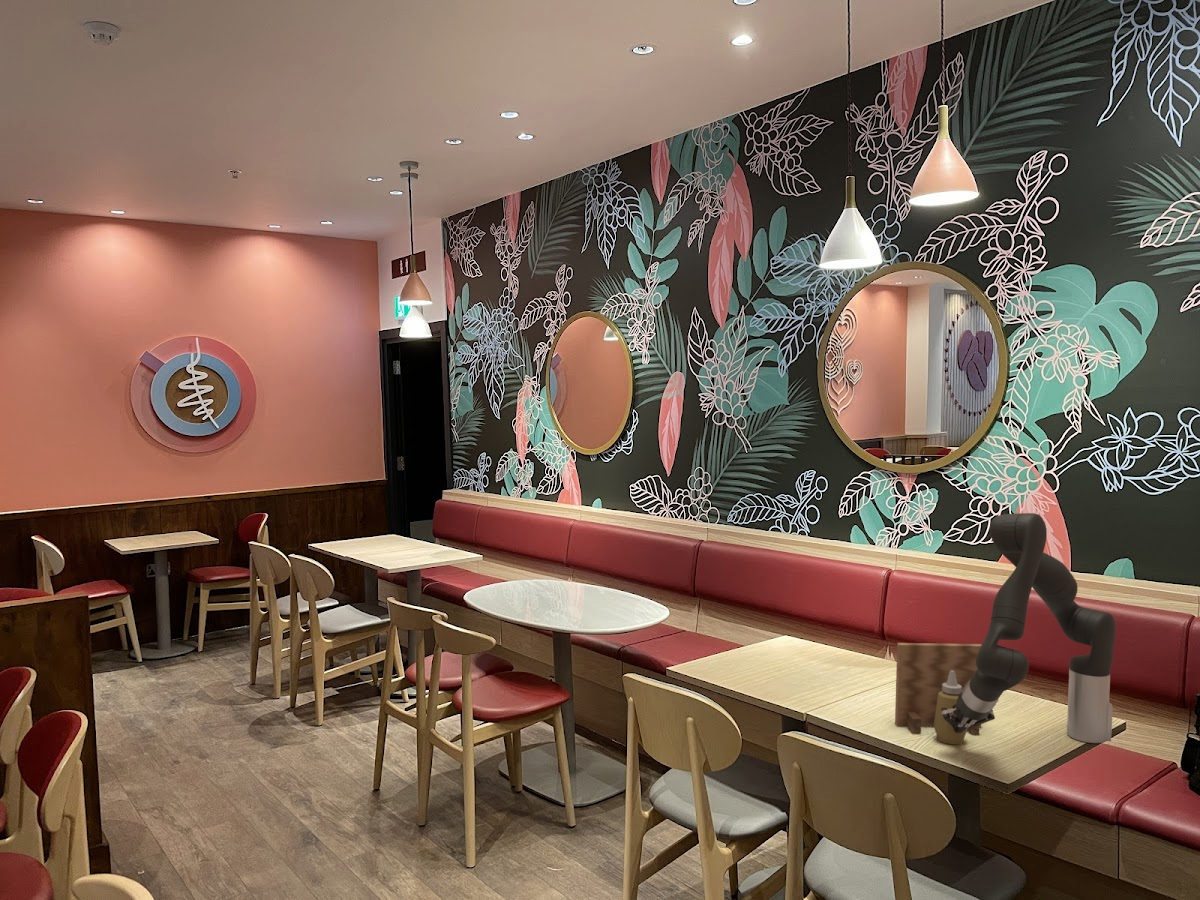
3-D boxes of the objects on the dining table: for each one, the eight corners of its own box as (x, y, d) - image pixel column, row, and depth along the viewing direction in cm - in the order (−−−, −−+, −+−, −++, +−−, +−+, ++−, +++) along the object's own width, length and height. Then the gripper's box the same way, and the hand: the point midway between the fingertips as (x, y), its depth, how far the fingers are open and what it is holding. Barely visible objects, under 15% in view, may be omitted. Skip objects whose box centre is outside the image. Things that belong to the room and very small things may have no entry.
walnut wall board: (978, 725, 237) (980, 644, 236) (988, 735, 230) (991, 651, 229) (894, 723, 238) (897, 642, 236) (903, 733, 231) (905, 650, 229)
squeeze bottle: (937, 732, 232) (940, 664, 231) (970, 739, 227) (972, 670, 226) (929, 741, 225) (931, 672, 224) (962, 749, 221) (965, 678, 220)
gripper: (1002, 683, 212) (980, 715, 225) (946, 682, 212) (927, 714, 225) (1011, 712, 207) (988, 744, 220) (954, 711, 207) (934, 743, 220)
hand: (957, 729), depth 222 cm, fingers closed
